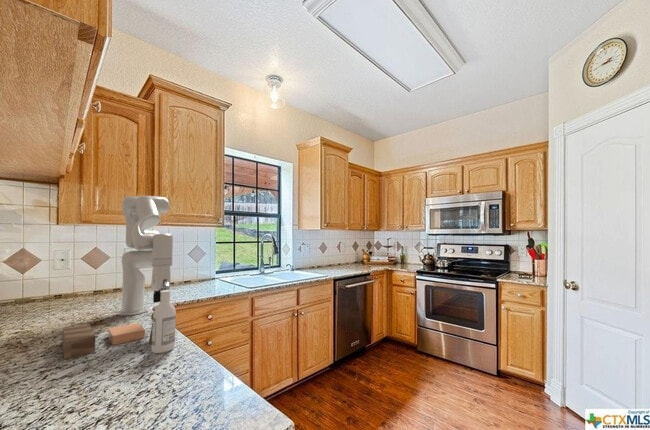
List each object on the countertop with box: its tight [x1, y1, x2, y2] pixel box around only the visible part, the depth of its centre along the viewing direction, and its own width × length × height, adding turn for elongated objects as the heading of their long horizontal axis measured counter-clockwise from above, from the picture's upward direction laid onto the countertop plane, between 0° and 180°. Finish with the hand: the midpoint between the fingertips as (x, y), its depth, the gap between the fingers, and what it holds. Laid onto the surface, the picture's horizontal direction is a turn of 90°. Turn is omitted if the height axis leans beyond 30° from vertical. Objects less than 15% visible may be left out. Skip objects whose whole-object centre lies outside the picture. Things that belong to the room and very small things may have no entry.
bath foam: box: [151, 289, 177, 354], centre depth 97 cm, size 7×7×20 cm
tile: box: [107, 322, 146, 346], centre depth 109 cm, size 12×10×4 cm
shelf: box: [61, 323, 96, 359], centre depth 99 cm, size 19×8×5 cm, turn 45°
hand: (160, 303), depth 117 cm, fingers open, 9 cm apart
